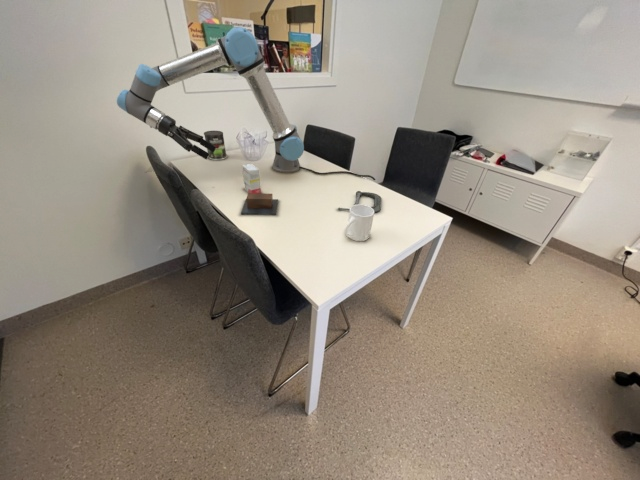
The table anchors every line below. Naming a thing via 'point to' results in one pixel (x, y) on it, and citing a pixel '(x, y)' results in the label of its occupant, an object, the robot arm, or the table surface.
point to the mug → (359, 222)
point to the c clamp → (377, 198)
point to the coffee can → (216, 144)
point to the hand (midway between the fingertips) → (211, 153)
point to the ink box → (251, 178)
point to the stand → (260, 204)
